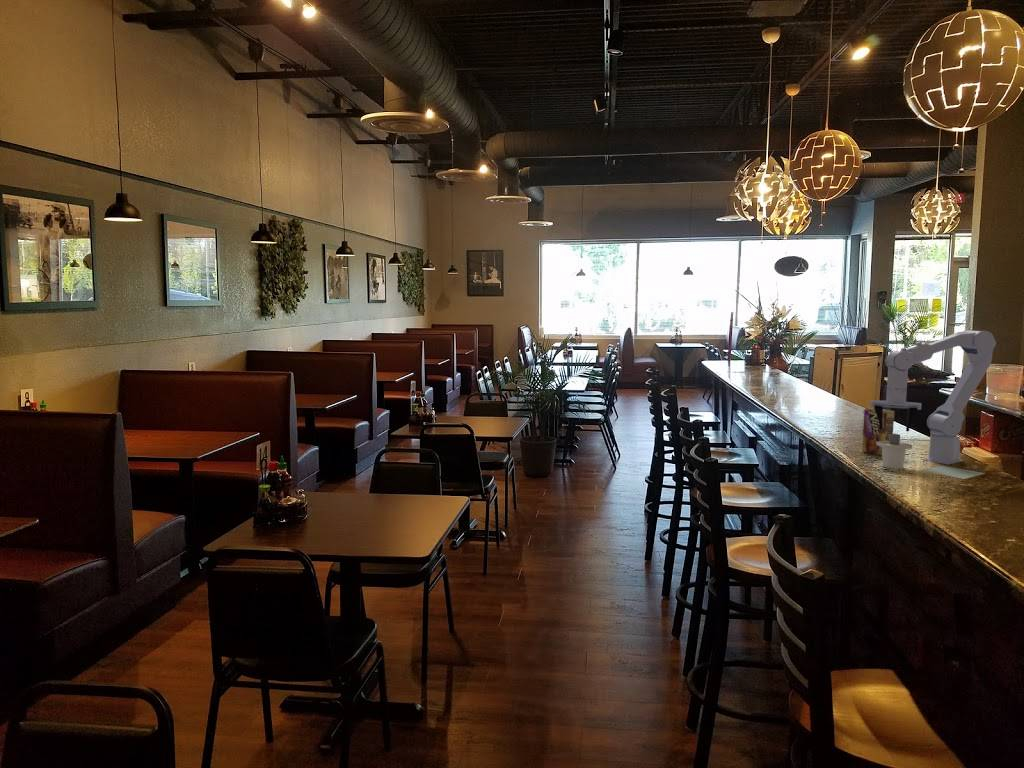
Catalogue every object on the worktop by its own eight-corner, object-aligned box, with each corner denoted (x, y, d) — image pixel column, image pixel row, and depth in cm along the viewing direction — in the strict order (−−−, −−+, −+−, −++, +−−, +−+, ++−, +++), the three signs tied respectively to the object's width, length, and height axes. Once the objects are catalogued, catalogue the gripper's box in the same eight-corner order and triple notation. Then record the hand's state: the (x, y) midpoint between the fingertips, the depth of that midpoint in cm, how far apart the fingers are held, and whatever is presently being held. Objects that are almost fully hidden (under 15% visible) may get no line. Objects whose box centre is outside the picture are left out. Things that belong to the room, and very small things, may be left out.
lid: (887, 441, 238) (888, 430, 238) (918, 446, 230) (919, 435, 229) (869, 444, 233) (870, 433, 232) (900, 450, 224) (901, 438, 224)
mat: (940, 466, 234) (940, 465, 234) (985, 474, 223) (985, 473, 223) (919, 471, 227) (919, 470, 227) (964, 480, 216) (964, 478, 216)
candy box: (892, 455, 251) (895, 410, 249) (883, 456, 249) (886, 411, 247) (869, 450, 259) (872, 407, 257) (861, 451, 257) (863, 408, 255)
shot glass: (907, 470, 228) (909, 448, 227) (883, 469, 229) (885, 447, 229) (900, 465, 235) (902, 444, 234) (877, 464, 236) (879, 443, 235)
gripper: (871, 388, 238) (869, 430, 239) (923, 391, 231) (920, 433, 233) (871, 386, 244) (869, 426, 246) (921, 388, 238) (918, 430, 239)
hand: (894, 430), depth 240 cm, fingers open, 7 cm apart
